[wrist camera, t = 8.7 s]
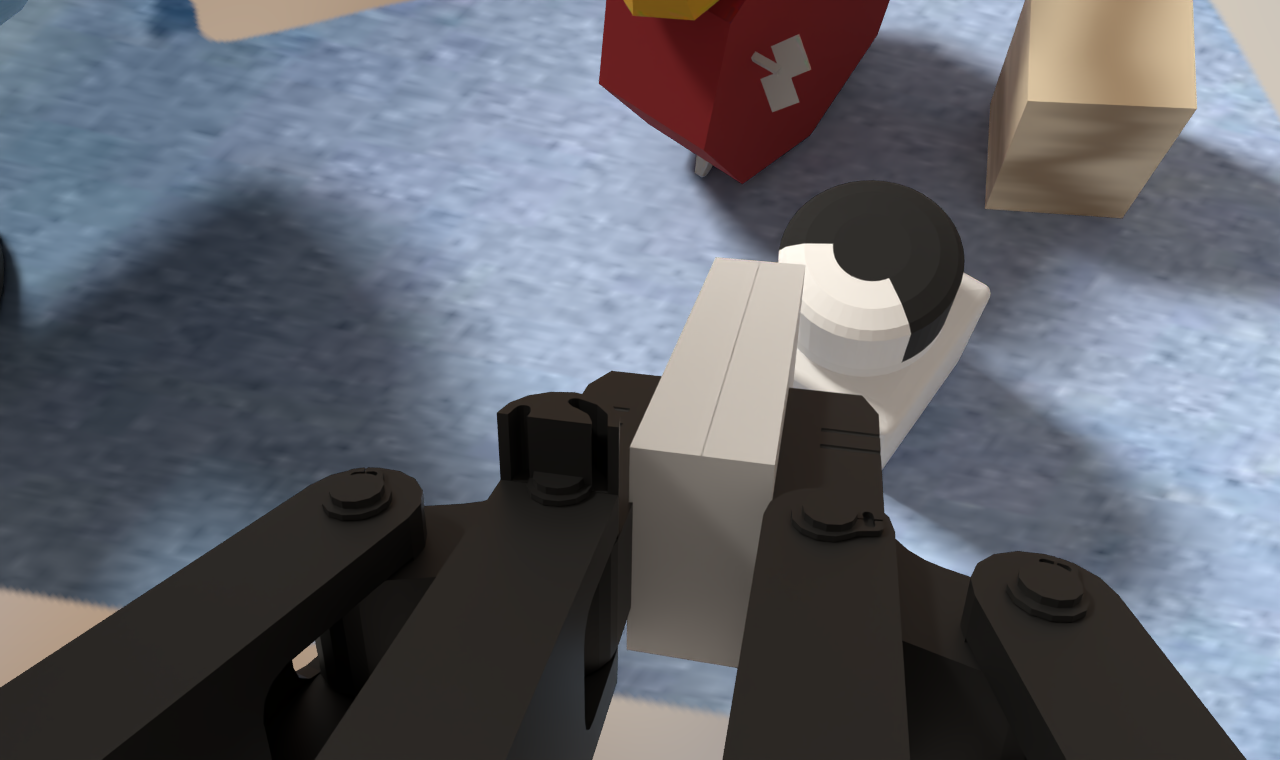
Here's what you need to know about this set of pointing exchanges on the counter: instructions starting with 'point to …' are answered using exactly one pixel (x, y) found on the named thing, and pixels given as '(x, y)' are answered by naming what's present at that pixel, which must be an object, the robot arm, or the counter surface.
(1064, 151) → the beech block
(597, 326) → the counter surface
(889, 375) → the medicine bottle
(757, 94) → the alarm clock
